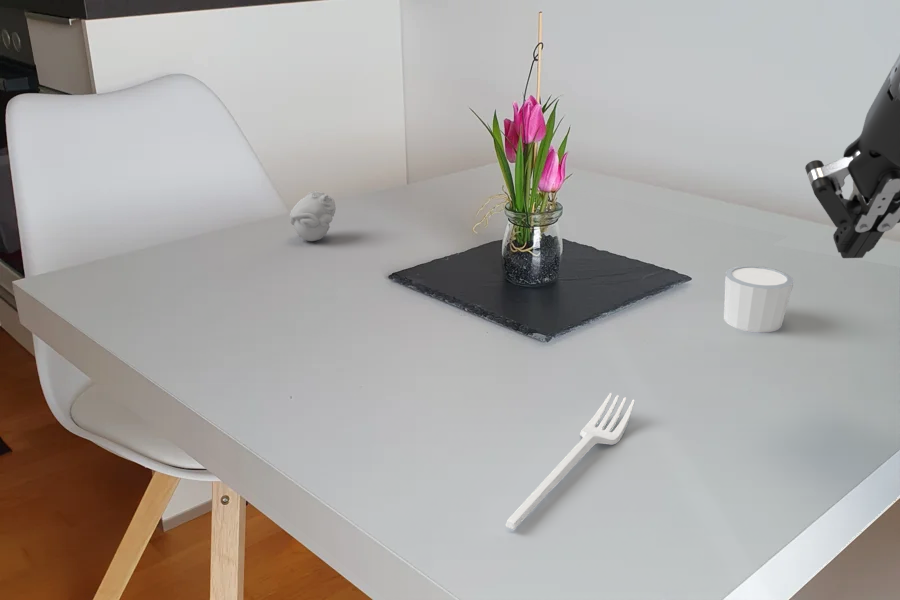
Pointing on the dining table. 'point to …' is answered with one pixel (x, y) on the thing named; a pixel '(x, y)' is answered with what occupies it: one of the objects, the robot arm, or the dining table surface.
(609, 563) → the dining table surface
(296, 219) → the frog figurine
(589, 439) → the fork
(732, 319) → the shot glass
